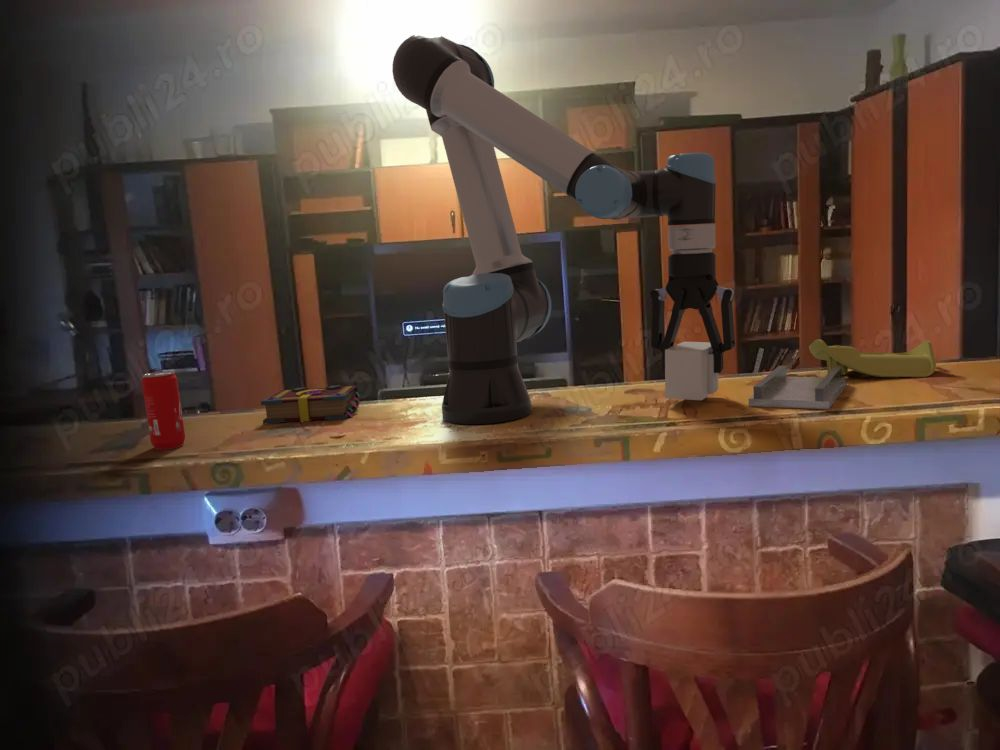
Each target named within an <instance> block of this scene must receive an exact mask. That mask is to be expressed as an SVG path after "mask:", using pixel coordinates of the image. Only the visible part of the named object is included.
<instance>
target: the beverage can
mask: <svg viewBox="0 0 1000 750" xmlns="http://www.w3.org/2000/svg"><path fill="white" fill-rule="evenodd" d="M141 386H142V391H143V398H144V405H145V412H146V418H147V425H148V426H147V427H148V431H149V437H150V444H152V447H154V450H155V451H167V450H173V449H178V448H181V447H183V446H184V445H185V443H184V442H185V440H186V433H185V432H186V430H185V425H184V418H183V411H182V404H181V397H180V389H179V383H178V377H177V375H176V374H175V371H173V370H165V371H156V372H150V373H144V374H143V375H142V380H141Z"/></svg>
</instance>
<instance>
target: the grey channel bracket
mask: <svg viewBox="0 0 1000 750" xmlns="http://www.w3.org/2000/svg"><path fill="white" fill-rule="evenodd" d="M847 384H848V378H847V377H843V375H842V366H834V367H833V368H832V370H831V371H830V372H829V373H828V372H827V374H826V375H825V377H823V376H819V377H818V376H817V377H815V376H814V377H813V376H787V365H779V366H777V367H776V368H774V369H773V370H771V372H770V373H769V374H767V375H766V376H765V377H763V379H761V380H760V381H758V382H757V383H756V384H755V385H753V394H752V395H751V396H749V398H748V407H765V408H784V409H785V408H787V409H788V408H789V409H810V410H811V409H813V410H815V409H816V410H830V409H831V408H832V406H833V405H834V404H835V402H836V400H837V399H838V398H839V397H840V395H841V394H842V392H843V391H844V390H845V389H846V387H847ZM832 404H833V405H832ZM830 407H831V408H830Z"/></svg>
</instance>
